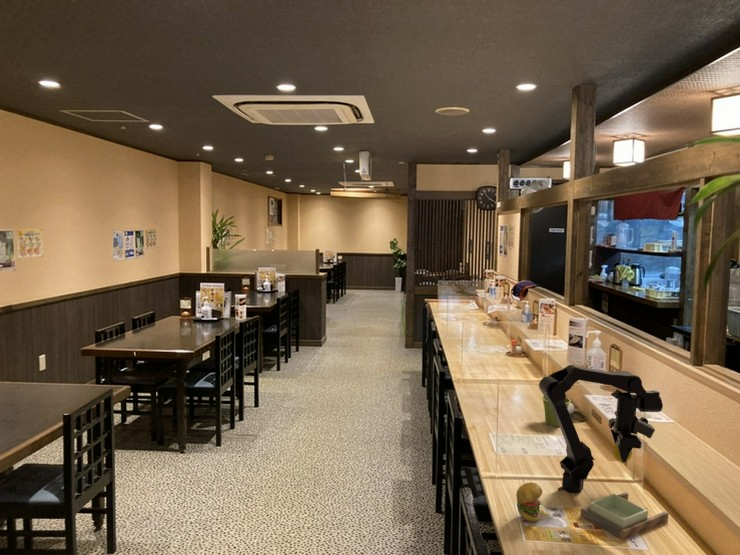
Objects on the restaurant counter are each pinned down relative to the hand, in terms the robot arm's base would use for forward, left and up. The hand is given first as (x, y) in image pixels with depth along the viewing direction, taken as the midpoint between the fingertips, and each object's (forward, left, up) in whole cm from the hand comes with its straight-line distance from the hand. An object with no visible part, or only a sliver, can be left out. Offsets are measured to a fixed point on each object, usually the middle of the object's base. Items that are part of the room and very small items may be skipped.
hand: (621, 458), depth 181 cm
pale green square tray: (-19, -12, -10) cm, 25 cm away
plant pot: (+30, +52, -12) cm, 61 cm away
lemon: (0, 0, -2) cm, 2 cm away
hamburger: (-39, +2, -12) cm, 41 cm away
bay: (-16, -12, -11) cm, 23 cm away
